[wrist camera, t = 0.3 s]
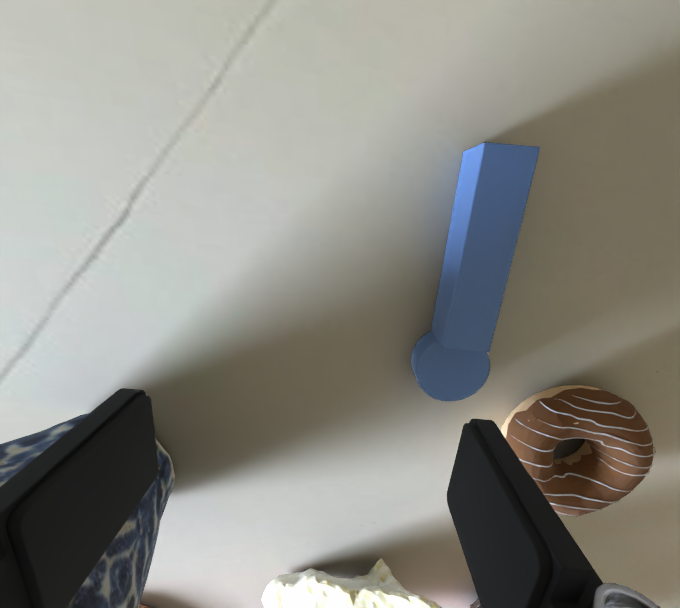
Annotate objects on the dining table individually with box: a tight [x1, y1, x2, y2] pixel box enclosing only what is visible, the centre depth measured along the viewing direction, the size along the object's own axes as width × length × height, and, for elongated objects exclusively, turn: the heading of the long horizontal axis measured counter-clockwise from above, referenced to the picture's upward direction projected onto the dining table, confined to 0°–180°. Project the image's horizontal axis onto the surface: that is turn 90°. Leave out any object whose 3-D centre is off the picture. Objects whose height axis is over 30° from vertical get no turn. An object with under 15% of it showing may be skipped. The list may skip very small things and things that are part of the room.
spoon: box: [411, 142, 540, 401], centre depth 21 cm, size 17×5×3 cm, turn 175°
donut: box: [500, 385, 656, 517], centre depth 24 cm, size 11×11×4 cm
